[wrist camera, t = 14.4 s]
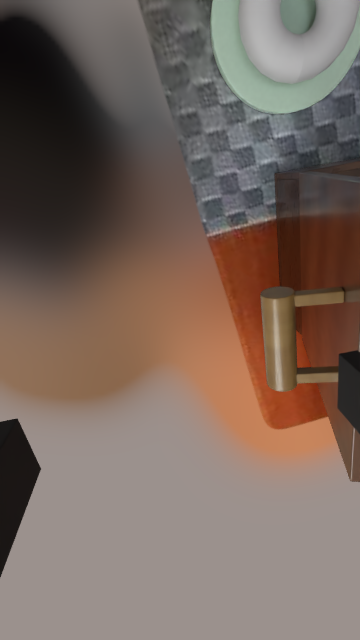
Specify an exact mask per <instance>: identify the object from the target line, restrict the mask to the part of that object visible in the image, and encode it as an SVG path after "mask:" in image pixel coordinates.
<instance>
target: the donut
mask: <svg viewBox="0 0 360 640" xmlns="http://www.w3.org/2000/svg"><path fill="white" fill-rule="evenodd" d="M314 1H315V4H316V15H315V20H314V23H313V25H312V27H311V28H310V29H309V30H308V31H307V32H306V33H303V34H293V33H292V32H290V31H289V30H287V28H286V27H285V26H284V24H283V22H282V19H281V14H280V5H281V0H240V4H239V13H238V20H239V28H240V36H241V41H242V43H243V46H244V48H245V51H246V53H247V55H248V58H249V60H250V61H251V62H252V63H253V64H254V66H255V67H256V68H257V69H258V70H259V72H260V73H261V74H263V75H265V76H267V77H268V78H270V79H272V80H274V81H275V82H281V83H289V84H294V83H298V82H302V81H306V80H309V79H312V78H314V77H315V76H317V75H318V74H320V73H321V72H323V71H324V70H326V69H327V68H328V67H329V66H330V65H331V64H332V63H333V62H334V60H335V59H336V58H337V57H338V56H339V54H340V53H341V52H342V51H343V50H344V48H345V46H346V44H347V42H348V40H349V38H350V36H351V34H352V32H353V30H354V27H355V23H356V19H357V14H358V10H359V5H360V0H314Z"/></svg>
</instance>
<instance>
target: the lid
mask: <svg viewBox="0 0 360 640" xmlns="http://www.w3.org/2000/svg"><path fill="white" fill-rule="evenodd" d="M299 201H300V251H301V291H294V290H293V289H292V288H288V287H272V288H268V289H265V290H263V291H262V292H261V294H260V297H261V310H262V323H263V337H264V350H265V364H266V377H267V384H268V386H269V387H270V388H271V389H273V390H276V391H290V390H292V389H294V388H295V387H296V386H297V383H317V385H318V388H319V391H320V394H321V396H322V399H323V402H324V405H325V408H326V411H327V414H328V417H329V420H330V423H331V426H332V429H333V432H334V435H335V438H336V440H337V443H338V446H339V449H340V452H341V455H342V458H343V461H344V464H345V467H346V470H347V473H348V476H349V479H350V481H352V482H360V434H359V433H358V432H357V430H356V429H355V428H354V427H353V426H352V425H351V423H350V422H349V421H348V420H347V419H346V418H345V416H344V415H343V414H342V413H341V412H340V411H339V409H338V408H337V402H338V363H339V354H340V353H345V352H350V351H355V350H358V351H359V352H360V177H357V176H348V175H339V174H330V173H321V172H313V171H305V172H300V173H299ZM299 306H302V341H303V344H304V347H305V349H306V352H307V355H308V358H309V361H310V364H311V367H307V368H297V347H296V312H295V307H299Z"/></svg>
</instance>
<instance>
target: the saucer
mask: <svg viewBox="0 0 360 640" xmlns="http://www.w3.org/2000/svg"><path fill="white" fill-rule="evenodd" d="M239 4H240V0H212V3H211V11H210V35H211V43H212V49H213V53H214V57H215V60H216V63H217V66H218V68H219V71H220V73H221V75H222V77H223V79H224V80H225V82H226V84H227V85H228V86H229V88H230V89H231V90H232V92H233V93H234V94H235V95H236V96H237V97H238V98H239V99H240V100H241V101H243V102H244V103H245V104H247V105H248V106H250V107H252V108H254V109H256V110H258V111H261V112H264V113H269V114H290V113H294V112H298V111H301V110H303V109H305V108H308V107H310V106H312V105H314V104H315V103H317V102H319V101H320V100H322V99H323V98H324V97H326V96H327V95H328V94H329V93H330V92H331V91H332V90H333V89H334V88H335V87H336V86H337V85H338V84H339V83H340V82H341V80H342V79H343V78H344V76H345V75H346V74H347V72H348V70H349V69H350V67H351V66H352V64H353V62H354V60H355V58H356V56H357V54H358V51H359V48H360V5H359V10H358V14H357V19H356V23H355V27H354V30H353V32H352V34H351V36H350V38H349V40H348V42H347V44H346V46H345V48H344V50H343V51H342V52H341V53H340V54H339V56H338V57H337V58H336V59H335V60H334V62H333V63H332V64H331V65H330V66H329V67H328V68H327V69H326V70H324V71H323V72H321V73H320V74H318V75H317V76H315V77H314V78H312V79H309V80H306V81H302V82H298V83H294V84H289V83H281V82H275V81H274V80H272V79H270V78H268V77H267V76H265V75H263V74H261V73H260V72H259V70H258V69H257V68H256V67H255V66H254V64H253V63H252V62H251V61H250V60H249V58H248V55H247V53H246V51H245V48H244V46H243V43H242V41H241V36H240V28H239V20H238V13H239ZM280 14H281V19H282V22H283V24H284V26H285V27H286V28H287V30H289V31H290V32H292V33H293V34H303V33H306V32H307V31H308V30H309V29H310V28H311V27H312V25H313V23H314V20H315V15H316V4H315V1H314V0H281V5H280Z"/></svg>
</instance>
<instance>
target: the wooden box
mask: <svg viewBox="0 0 360 640" xmlns="http://www.w3.org/2000/svg"><path fill="white" fill-rule="evenodd" d="M305 171H313V172H321V173H330V174H339V175H348V176H357V177H360V157H359V158H354V159H349V160H343V161H338V162H333V163H328V164H322V165H317V166H312V167H306V168H301V169H296V170H290V171H285V172H280V173H275V195H276V216H277V237H278V258H279V278H280V287H288V288H292V289H293V290H294V291H301V251H300V201H299V173H300V172H305ZM295 312H296V330H297V331H298V332H299V333H300V334H301V335H302V306H299V307H295Z"/></svg>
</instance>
